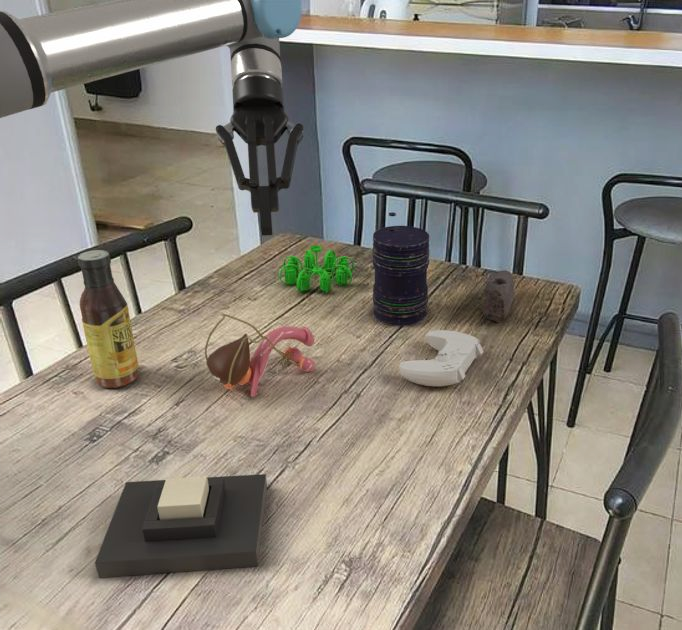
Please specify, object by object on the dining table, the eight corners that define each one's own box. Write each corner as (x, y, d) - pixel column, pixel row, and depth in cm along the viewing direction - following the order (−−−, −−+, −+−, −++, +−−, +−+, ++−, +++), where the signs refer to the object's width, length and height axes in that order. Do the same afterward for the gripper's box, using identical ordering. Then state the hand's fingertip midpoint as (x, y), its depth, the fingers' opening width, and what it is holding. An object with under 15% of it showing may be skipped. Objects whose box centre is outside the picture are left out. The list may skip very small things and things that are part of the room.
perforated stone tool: (492, 290, 132) (494, 257, 129) (519, 294, 131) (522, 261, 128) (475, 325, 119) (478, 289, 116) (505, 330, 118) (509, 294, 115)
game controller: (429, 323, 113) (486, 324, 109) (433, 347, 115) (489, 349, 110) (391, 365, 101) (453, 368, 97) (397, 390, 103) (458, 395, 99)
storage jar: (438, 317, 122) (442, 222, 113) (391, 331, 117) (392, 233, 108) (407, 296, 129) (409, 205, 121) (362, 309, 124) (361, 214, 116)
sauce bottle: (131, 391, 99) (104, 265, 90) (88, 390, 99) (57, 264, 90) (147, 367, 105) (124, 247, 96) (107, 366, 105) (80, 246, 96)
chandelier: (334, 303, 126) (332, 268, 123) (264, 288, 130) (260, 255, 127) (368, 272, 138) (367, 240, 135) (303, 260, 143) (301, 229, 140)
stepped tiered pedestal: (98, 578, 70) (90, 549, 68) (129, 496, 80) (122, 469, 78) (258, 566, 71) (254, 538, 70) (267, 487, 82) (264, 461, 80)
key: (160, 521, 72) (157, 506, 71) (168, 492, 76) (166, 478, 75) (202, 518, 72) (200, 504, 72) (209, 489, 76) (207, 475, 75)
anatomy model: (341, 353, 104) (277, 306, 93) (286, 426, 102) (214, 387, 91) (307, 327, 111) (243, 280, 100) (255, 395, 109) (184, 355, 98)
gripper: (301, 102, 108) (312, 239, 102) (216, 103, 106) (222, 244, 99) (300, 72, 101) (312, 218, 95) (209, 73, 99) (215, 222, 92)
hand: (266, 231), depth 97 cm, fingers closed
